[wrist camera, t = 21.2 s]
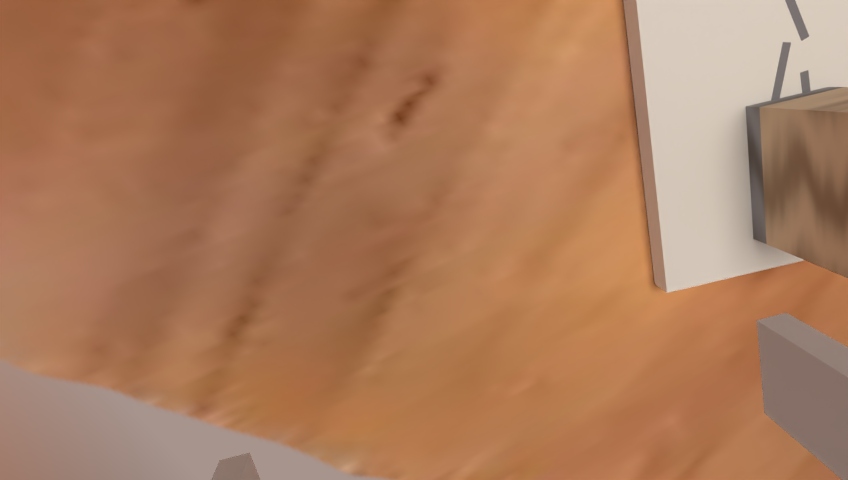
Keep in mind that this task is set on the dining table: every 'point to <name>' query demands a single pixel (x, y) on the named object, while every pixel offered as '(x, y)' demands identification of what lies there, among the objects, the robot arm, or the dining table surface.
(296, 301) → the dining table surface
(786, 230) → the block
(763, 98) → the board
